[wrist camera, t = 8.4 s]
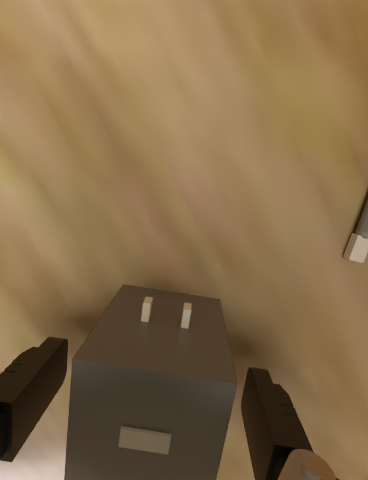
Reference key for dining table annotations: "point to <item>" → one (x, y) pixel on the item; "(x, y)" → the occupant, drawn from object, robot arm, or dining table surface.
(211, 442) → the charger
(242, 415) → the robot arm
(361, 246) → the cable
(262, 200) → the dining table surface
